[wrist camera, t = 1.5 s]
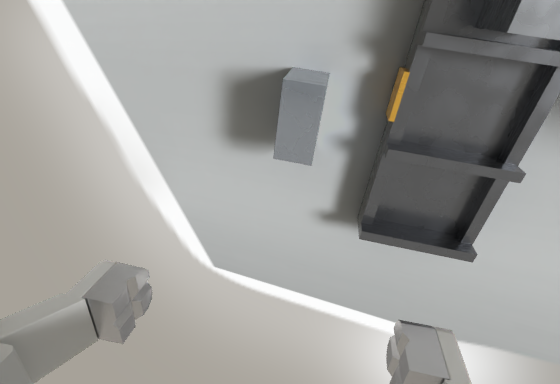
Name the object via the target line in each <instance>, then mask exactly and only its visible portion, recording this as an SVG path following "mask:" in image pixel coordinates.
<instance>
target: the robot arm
mask: <svg viewBox="0 0 560 384" xmlns="http://www.w3.org/2000/svg"><path fill="white" fill-rule="evenodd" d="M149 278H150V276H149V271H148V270H147V269H145V268H140V267H136V266H132V265H127V264H123V263H119V262H113V261H109V260H103V261H101V262H99V263H98V264H97V265H96V266H95V267H94V268H93V269H92V270H91V271H90V272H89V273H88V274H87V275H86V276H84V277H83V278H82V279H81V280H80V281H79V282H78V283H77V284H76V285H75V286H74V287H73V288H72V289H71V290H70V291H69V292H68V293H66V294H59V295H57V296H54V297H52V298H50V299H48V300H45V301H43V302H40V303H38V304H36V305H33V306H31V307H28V308H26V309H24V310H21V311H19V312H17V313H15V314H12V315H10V316H7V317H5V318H3V319H0V384H34V383H35V382H37V381H38V380H40V379H41V378H42V377H44V376H45V375H47V374H49V373H50V372H52V371H53V370H55V369H56V368H57V367H59V366H61V365H62V364H63V363H65V362H67V361H68V360H69V359H71V358H73V357H74V356H76V355H77V354H79V353H80V352H82V351H83V350H85V349H86V348H88V347H89V346H91V345H92V344H94V343H95V342H96V341H98V339H102V340H106V341H111V342H116V343H121V344H123V343H124V342H125V340H126V339H127V337H128V336H129V335H130V333H131V332H132V331H133V329H134V328H135V319H137V318H139V317H141V316H143V315H144V313H145V312H146V311H147V309H148V307H149V305H150V302H151V300H152V287H151V286H150V285H149V284H148V283H147V280H148V279H149ZM394 333H395V335H394V336H392V337H390V340H389V343H388V347H387V370H388V371H389V373H390V374H391V376H392V379H391V381H390V384H471V381H470V378H469V375H468V372H467V369H466V366H465V364H464V360H463V358H462V355H461V352H460V349H459V346H458V343H457V340H456V337H455V334H454V333H453V332H452V330H448V329H443V328H438V327H432V326H428V325H423V324H418V323H413V322H407V321H402V320H398V321H397V322H396V324H395V326H394Z"/></svg>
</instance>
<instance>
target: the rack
mask: <svg viewBox="0 0 560 384" xmlns="http://www.w3.org/2000/svg"><path fill="white" fill-rule="evenodd" d="M559 94H560V0H425V2H424V5H423V8H422V12H421V15H420V18H419V21H418V25H417V28H416V31H415V34H414V37H413V41H412V44H411V47H410V50H409V54H408V57H407V60H406V63H405V66H404V68H403V67H400V68H399V71H398V75H397V78H396V81H395V85H394V88H393V91H392V95H391V98H390V101H389V104H388V108H387V111H386V115H387V118H388V121H387V124H386V128H385V131H384V134H383V137H382V141H381V144H380V147H379V150H378V154H377V157H376V160H375V163H374V166H373V170H372V173H371V176H370V179H369V183H368V186H367V189H366V192H365V195H364V199H363V202H362V205H361V208H360V212H359V215H358V229H359V239H362V240H367V241H371V242H376V243H381V244H386V245H391V246H396V247H401V248H405V249H410V250H415V251H420V252H425V253H430V254H435V255H439V256H444V257H449V258H454V259H459V260H464V261H469V262H473V261H474V259H475V258H476V256H477V253H476V252H475V250H474V248H473V246H472V244H473V243H474V241H475V239H476V237H477V236H478V234H479V232H480V231H481V229H482V227H483V225H484V224H485V222H486V220H487V218H488V217H489V215H490V213H491V212H492V210H493V208H494V206H495V205H496V203H497V201H498V199H499V198H500V196H501V194H502V193H503V191H504V189H505V187H506V186H507V184H508V182H509V181H511V182H517V183H521V181H522V180H523V178H524V176H525V175H526V173H525V172H524V171H522V170H521V169H520V168H519V167H518V165H519V163H520V161H521V160H522V158H523V156H524V155H525V153H526V151H527V149H528V148H529V146H530V144H531V142H532V141H533V139H534V137H535V136H536V134H537V132H538V130H539V129H540V127H541V125H542V123H543V122H544V120H545V118H546V116H547V115H548V113H549V111H550V110H551V108H552V106H553V104H554V103H555V101H556V99H557V97H558V96H559Z"/></svg>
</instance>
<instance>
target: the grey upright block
mask: <svg viewBox="0 0 560 384" xmlns="http://www.w3.org/2000/svg"><path fill="white" fill-rule="evenodd" d="M329 74H330V73H326V72H320V71H314V70H307V69H301V68H295V67H293V68H292V69H291V70H290V71H289V73H288V74H287V75H286V76H285V77H284V78H283V83H282V91H281V99H280V108H279V116H278V124H277V132H276V141H275V149H274V157H273V159H279V160H284V161H289V162H294V163H300V164H305V165H310V166H311V165H312V160H313V155H314V151H315V146H316V141H317V136H318V131H319V126H320V120H321V115H322V110H323V105H324V100H325V95H326V90H327V85H328V79H329Z"/></svg>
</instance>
